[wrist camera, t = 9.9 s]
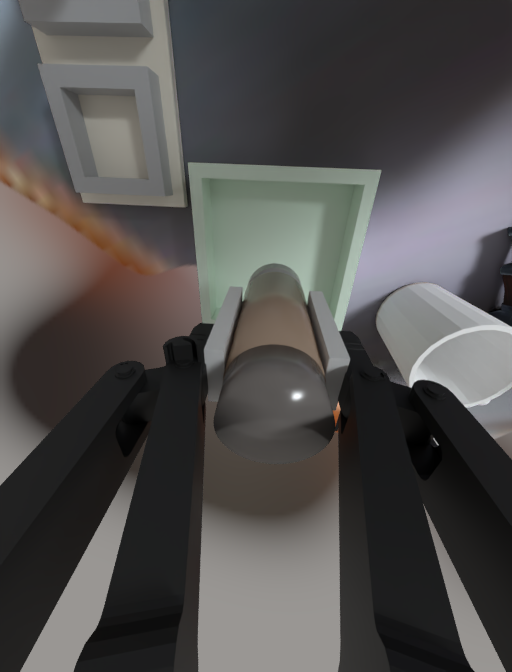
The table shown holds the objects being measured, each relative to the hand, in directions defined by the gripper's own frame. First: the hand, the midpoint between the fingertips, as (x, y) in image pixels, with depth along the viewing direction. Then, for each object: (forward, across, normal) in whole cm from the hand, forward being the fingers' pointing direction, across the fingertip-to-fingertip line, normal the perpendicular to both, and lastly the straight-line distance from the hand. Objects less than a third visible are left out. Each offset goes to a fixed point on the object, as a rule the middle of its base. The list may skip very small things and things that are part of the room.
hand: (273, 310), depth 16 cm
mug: (+14, +17, -7) cm, 23 cm away
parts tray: (+13, 0, 0) cm, 13 cm away
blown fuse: (+3, 0, 0) cm, 3 cm away
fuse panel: (+13, -14, +14) cm, 24 cm away
